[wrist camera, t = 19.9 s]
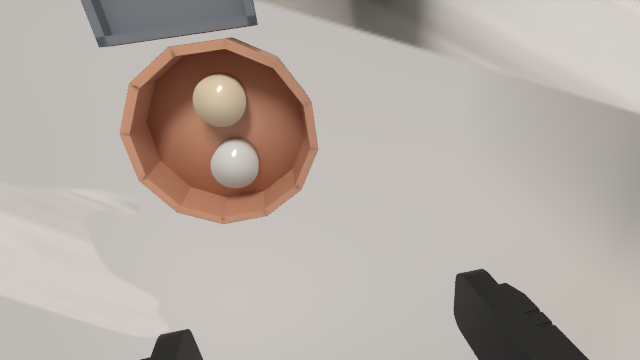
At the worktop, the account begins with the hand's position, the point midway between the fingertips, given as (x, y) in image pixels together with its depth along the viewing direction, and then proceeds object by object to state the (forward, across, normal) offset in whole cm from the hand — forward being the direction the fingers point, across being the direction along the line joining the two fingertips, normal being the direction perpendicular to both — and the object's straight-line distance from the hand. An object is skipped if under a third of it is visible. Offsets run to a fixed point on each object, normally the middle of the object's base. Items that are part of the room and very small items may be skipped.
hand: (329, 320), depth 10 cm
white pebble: (+29, +6, +5) cm, 30 cm away
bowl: (+30, +6, +1) cm, 31 cm away
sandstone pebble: (+29, +6, -2) cm, 30 cm away
